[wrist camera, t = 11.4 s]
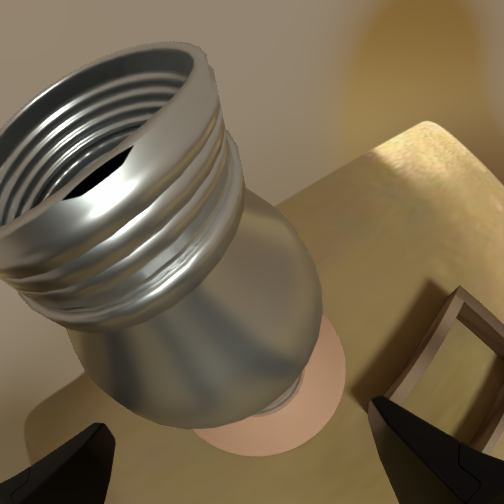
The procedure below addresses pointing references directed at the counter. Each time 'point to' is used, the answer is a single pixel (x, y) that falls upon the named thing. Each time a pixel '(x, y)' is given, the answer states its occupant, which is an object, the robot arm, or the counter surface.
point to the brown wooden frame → (455, 306)
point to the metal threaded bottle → (155, 242)
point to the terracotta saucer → (291, 406)
